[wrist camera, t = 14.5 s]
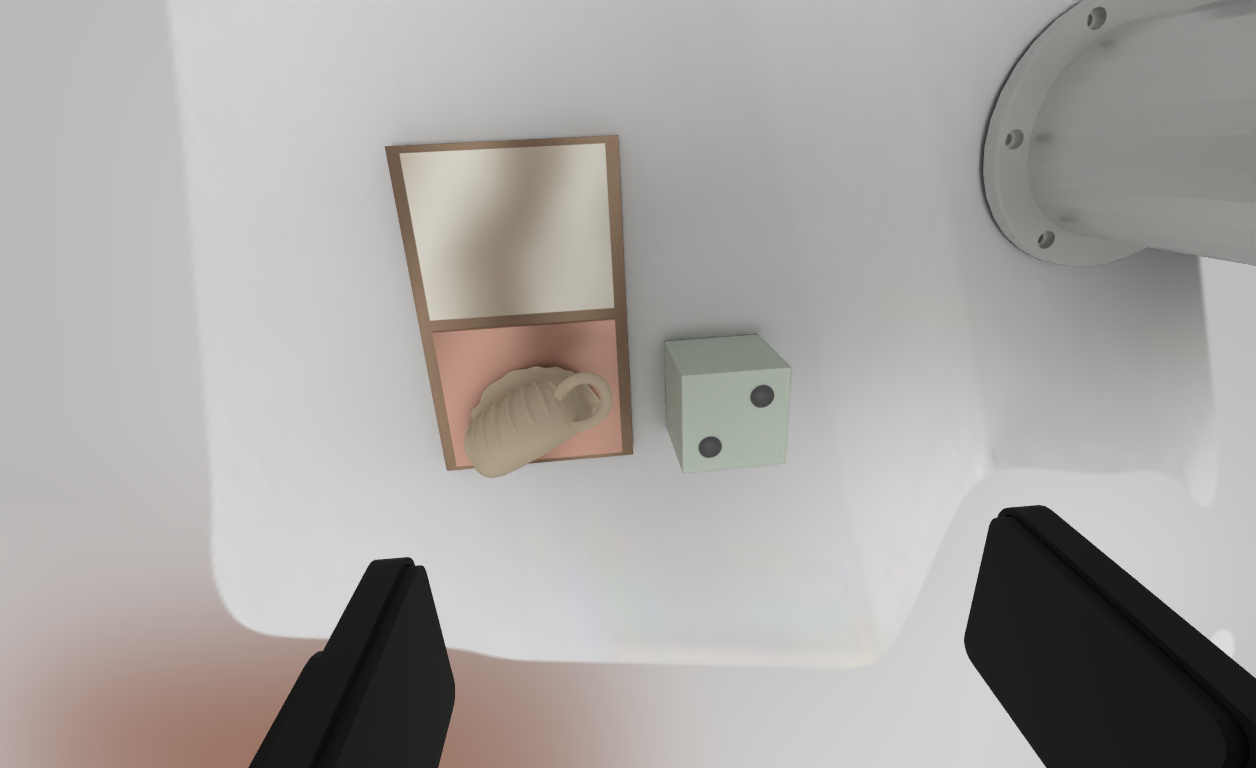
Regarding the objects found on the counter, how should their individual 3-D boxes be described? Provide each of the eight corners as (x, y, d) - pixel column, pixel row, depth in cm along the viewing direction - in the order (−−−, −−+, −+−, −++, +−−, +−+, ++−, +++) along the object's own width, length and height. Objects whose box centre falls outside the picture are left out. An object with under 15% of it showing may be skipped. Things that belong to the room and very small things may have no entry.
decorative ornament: (446, 406, 29) (422, 458, 24) (591, 328, 28) (596, 366, 23) (491, 466, 31) (476, 527, 26) (629, 394, 30) (641, 442, 25)
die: (757, 334, 31) (791, 367, 26) (754, 419, 33) (785, 464, 28) (664, 341, 30) (682, 376, 26) (666, 426, 32) (683, 474, 28)
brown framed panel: (616, 135, 26) (618, 134, 25) (631, 445, 32) (633, 456, 31) (391, 146, 26) (383, 146, 24) (450, 461, 32) (446, 472, 31)
